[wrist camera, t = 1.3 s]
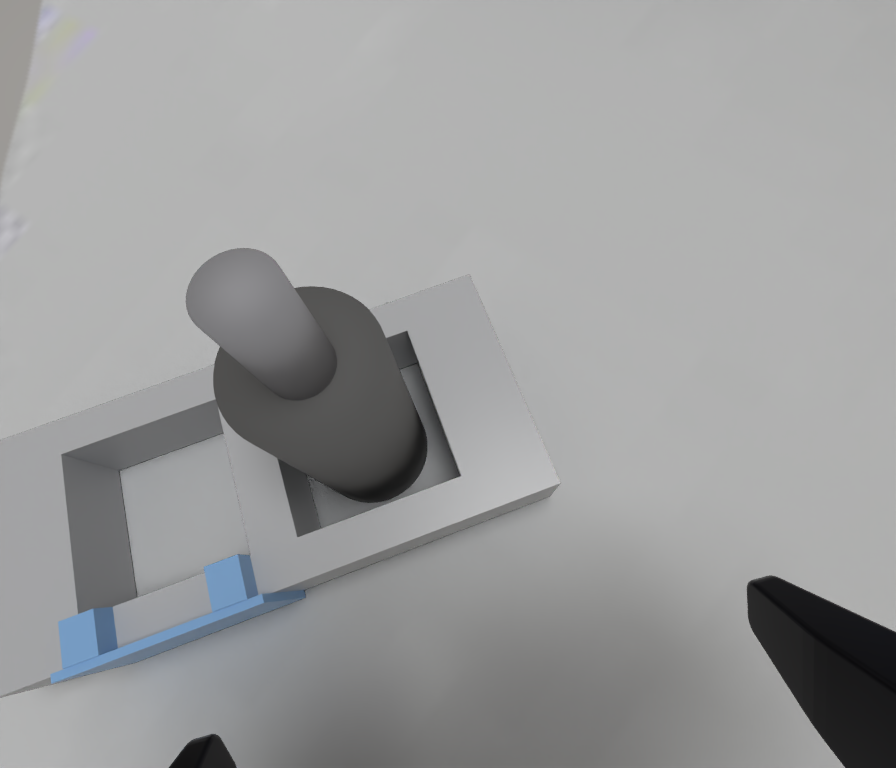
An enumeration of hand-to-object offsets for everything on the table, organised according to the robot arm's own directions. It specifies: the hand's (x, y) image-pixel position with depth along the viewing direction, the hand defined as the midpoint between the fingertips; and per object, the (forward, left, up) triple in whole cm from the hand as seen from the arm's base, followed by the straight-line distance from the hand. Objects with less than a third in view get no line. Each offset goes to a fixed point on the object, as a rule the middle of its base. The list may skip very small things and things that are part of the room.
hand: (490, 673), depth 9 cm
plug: (+2, +8, -13) cm, 16 cm away
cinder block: (-1, +10, -13) cm, 17 cm away
